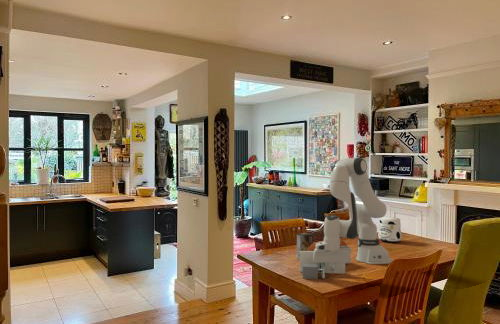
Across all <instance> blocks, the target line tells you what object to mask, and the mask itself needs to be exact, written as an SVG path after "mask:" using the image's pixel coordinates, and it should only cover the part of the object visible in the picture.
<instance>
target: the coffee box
mask: <svg viewBox="0 0 500 324" xmlns="http://www.w3.org/2000/svg"><path fill="white" fill-rule="evenodd" d="M313 243H314V234H313V233H310V232H303V233H302V232H299V233H296V258H297V259H298V260H300V251H307V249H308V247H309V246H310V245H311V244H313Z"/></svg>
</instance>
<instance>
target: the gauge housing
mask: <svg viewBox="0 0 500 324" xmlns="http://www.w3.org/2000/svg"><path fill="white" fill-rule="evenodd" d="M313 253H314V251H300V259H299V273H301V276H302V279H304V280H305V279H306V280H307V279H308V280H318V277H319V275H318V274H321V273H320V272H318V269H320V263H317V262H314V261H313ZM323 264H324V266H325V274H343V275H345V274H346V264H345V263H337V265H336V267H335V271H329V267H328V265H327V263H323ZM329 266H330V267H333V266H334V263H330V265H329ZM302 269H303V271H302Z"/></svg>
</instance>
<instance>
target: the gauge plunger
mask: <svg viewBox="0 0 500 324" xmlns="http://www.w3.org/2000/svg"><path fill="white" fill-rule="evenodd" d="M302 271H303V269H302ZM318 272H320V273H319V274H320V275H321V277H322V279H326V273H325V266H324V264H323V263H320V269H318Z"/></svg>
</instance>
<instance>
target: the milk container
mask: <svg viewBox="0 0 500 324" xmlns="http://www.w3.org/2000/svg"><path fill="white" fill-rule="evenodd" d="M401 227H402V226H401V218H399V217H392V216H384V217H382V218H379V229H378V231H377V238H378V239H379V240H381V241H382V242H387V243H399V242H400V241H402V230H401Z"/></svg>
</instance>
